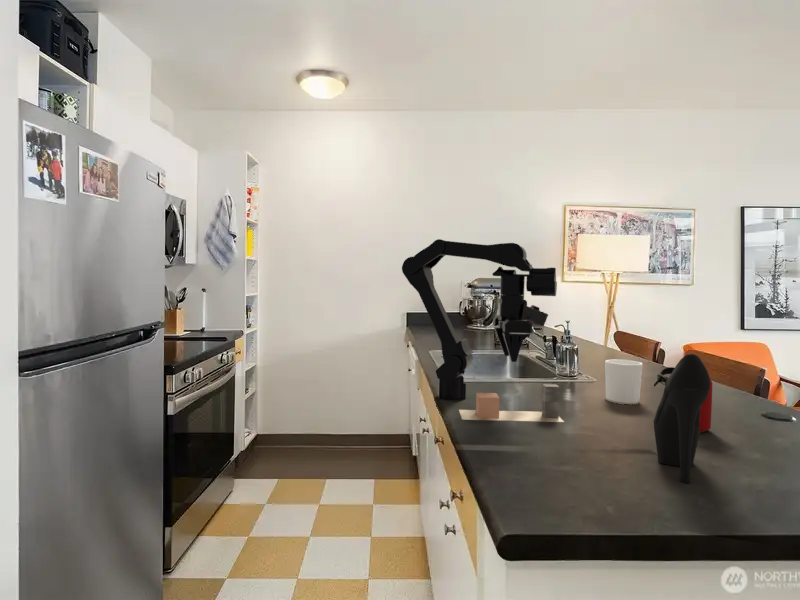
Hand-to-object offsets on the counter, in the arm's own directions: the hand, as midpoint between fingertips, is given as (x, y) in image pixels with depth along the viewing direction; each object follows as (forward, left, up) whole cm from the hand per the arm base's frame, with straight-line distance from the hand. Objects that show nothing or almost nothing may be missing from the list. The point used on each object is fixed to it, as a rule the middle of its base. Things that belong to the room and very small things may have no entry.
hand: (510, 358), depth 120 cm
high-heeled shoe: (+21, -37, -12) cm, 44 cm away
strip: (-2, -11, -12) cm, 16 cm away
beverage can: (+36, -15, -12) cm, 41 cm away
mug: (+31, +10, -12) cm, 35 cm away
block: (-7, -11, -11) cm, 17 cm away
